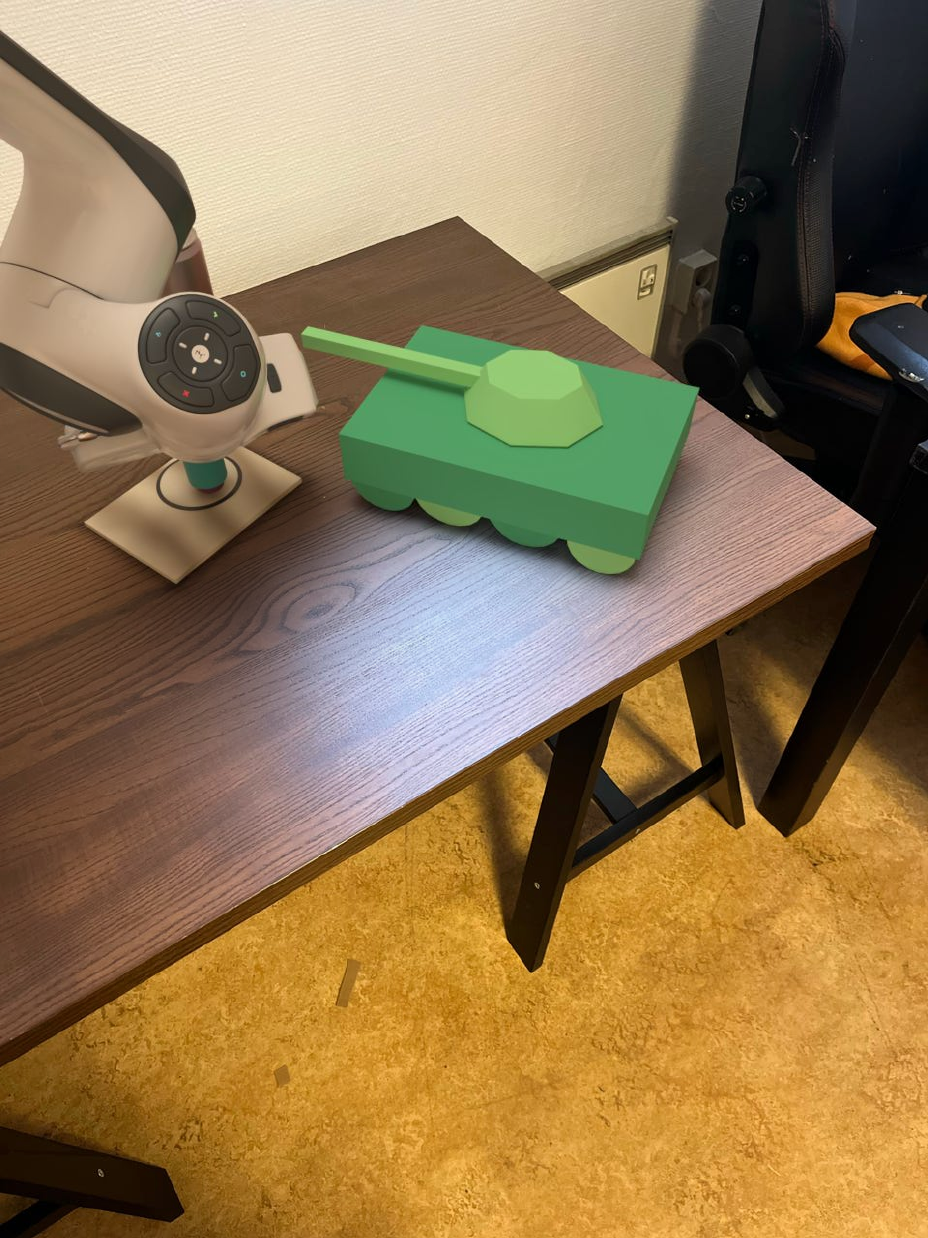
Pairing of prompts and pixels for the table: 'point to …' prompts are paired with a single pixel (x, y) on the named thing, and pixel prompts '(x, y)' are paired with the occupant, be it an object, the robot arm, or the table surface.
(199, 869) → the table surface
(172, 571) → the board
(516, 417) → the toy tank
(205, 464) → the dot marker
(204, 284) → the beverage can
